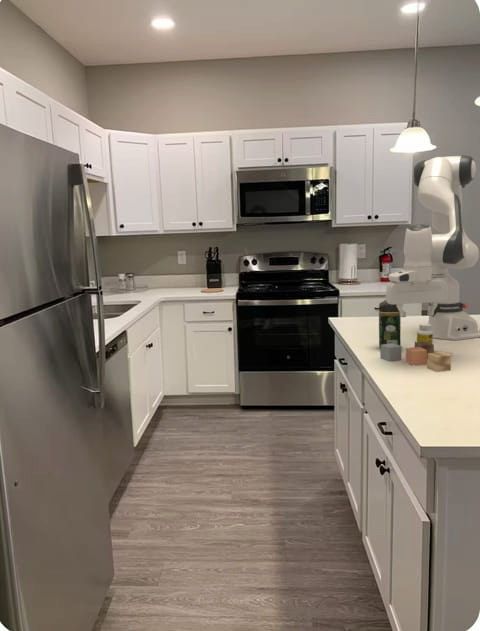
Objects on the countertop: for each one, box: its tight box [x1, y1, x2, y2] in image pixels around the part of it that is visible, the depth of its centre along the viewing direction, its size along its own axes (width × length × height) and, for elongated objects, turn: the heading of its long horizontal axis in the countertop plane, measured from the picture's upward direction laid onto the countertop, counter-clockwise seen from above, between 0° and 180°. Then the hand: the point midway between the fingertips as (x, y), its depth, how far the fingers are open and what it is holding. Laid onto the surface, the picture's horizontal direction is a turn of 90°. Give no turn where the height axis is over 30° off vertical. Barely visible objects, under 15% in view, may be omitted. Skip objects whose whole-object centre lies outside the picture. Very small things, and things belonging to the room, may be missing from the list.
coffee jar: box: [378, 299, 402, 350], centre depth 184 cm, size 10×8×19 cm
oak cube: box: [426, 351, 452, 373], centre depth 157 cm, size 5×5×5 cm
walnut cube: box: [414, 341, 435, 359], centre depth 171 cm, size 5×5×5 cm
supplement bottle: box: [416, 323, 434, 344], centre depth 179 cm, size 5×5×10 cm
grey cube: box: [380, 343, 402, 362], centre depth 171 cm, size 5×5×5 cm
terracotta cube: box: [405, 346, 427, 367], centre depth 164 cm, size 5×5×5 cm
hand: (416, 316), depth 162 cm, fingers open, 8 cm apart
